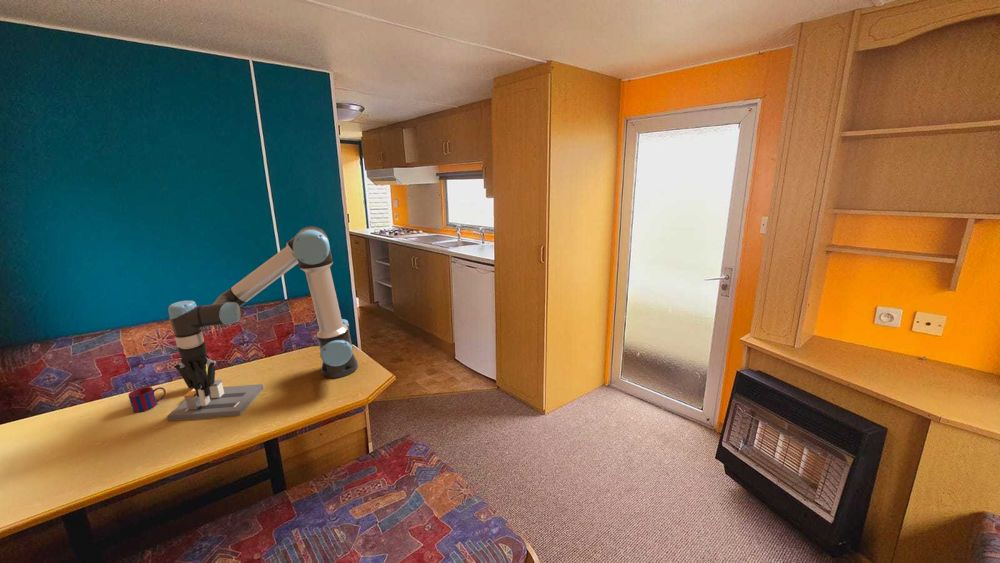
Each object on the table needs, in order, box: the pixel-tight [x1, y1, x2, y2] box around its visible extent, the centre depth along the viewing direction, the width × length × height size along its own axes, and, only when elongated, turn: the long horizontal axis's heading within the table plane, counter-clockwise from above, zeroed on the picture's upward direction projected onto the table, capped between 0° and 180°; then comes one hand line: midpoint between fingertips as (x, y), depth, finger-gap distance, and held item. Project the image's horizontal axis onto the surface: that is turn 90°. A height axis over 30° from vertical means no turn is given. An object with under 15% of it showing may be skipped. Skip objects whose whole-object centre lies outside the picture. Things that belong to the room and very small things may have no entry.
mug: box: [128, 386, 167, 414], centre depth 145 cm, size 7×10×7 cm
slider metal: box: [184, 390, 201, 410], centre depth 140 cm, size 3×3×6 cm
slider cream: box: [209, 379, 224, 398], centre depth 147 cm, size 3×3×6 cm
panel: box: [166, 384, 264, 422], centre depth 146 cm, size 24×18×2 cm
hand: (206, 403), depth 141 cm, fingers closed
